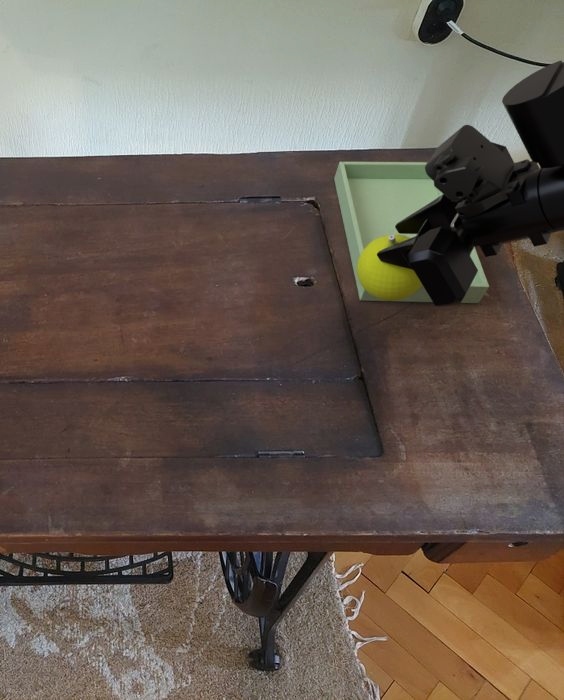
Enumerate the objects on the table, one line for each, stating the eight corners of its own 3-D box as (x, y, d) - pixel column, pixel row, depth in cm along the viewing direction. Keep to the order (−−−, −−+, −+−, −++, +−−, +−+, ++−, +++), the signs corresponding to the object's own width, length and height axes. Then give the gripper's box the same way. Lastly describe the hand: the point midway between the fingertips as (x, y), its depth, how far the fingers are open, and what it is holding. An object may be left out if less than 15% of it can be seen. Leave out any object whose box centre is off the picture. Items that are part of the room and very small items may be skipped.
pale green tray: (435, 179, 93) (443, 162, 91) (478, 303, 80) (489, 286, 77) (334, 178, 95) (339, 161, 92) (359, 300, 81) (366, 284, 79)
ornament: (340, 298, 73) (364, 232, 65) (362, 258, 76) (388, 191, 68) (403, 323, 70) (437, 258, 62) (424, 281, 74) (458, 214, 66)
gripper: (545, 64, 57) (385, 133, 70) (476, 182, 49) (309, 234, 62) (594, 168, 60) (433, 214, 74) (538, 294, 52) (367, 322, 65)
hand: (388, 242), depth 68 cm, fingers closed on ornament, 5 cm apart
